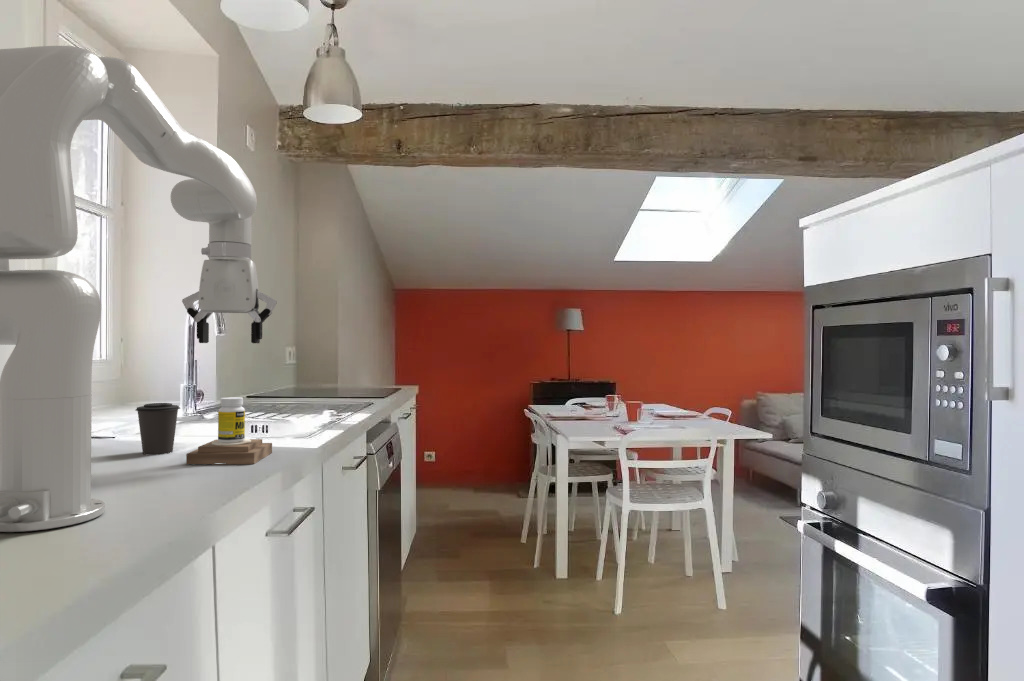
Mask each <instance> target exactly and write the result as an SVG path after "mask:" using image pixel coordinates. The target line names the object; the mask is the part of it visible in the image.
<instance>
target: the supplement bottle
mask: <svg viewBox="0 0 1024 681" xmlns="http://www.w3.org/2000/svg"><path fill="white" fill-rule="evenodd" d="M243 405H244V398H243V397H242V396H241V397H238V396H235V397H234V396H233V397H232V396H229V397H220V406H221V407H220V408H219V409H218V412H217V413H218V415H217V417H218V418H217V427H218V430H217V440H218V442H220V443H237V442H242V441H244V439H246V438H245V436H246V433H245V432H246V431H245V430H246V427H245V425H246V424H245V423H246V421H245V420H246V409H245V407H243Z"/></svg>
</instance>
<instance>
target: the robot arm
mask: <svg viewBox="0 0 1024 681" xmlns="http://www.w3.org/2000/svg"><path fill="white" fill-rule="evenodd" d="M98 120H99V121H101V122H103V123H105V124H106V126H108V127H109V129H110V130H112V132H113V133H114V134H115V135H116V136H117V137H118V139H120V141H121V142H123V144H124V145H125V146H126V147H127V148H128V149H129V150H130V151H131V153H133V155H134V156H135V157H136V158H137V160H139V161H140V162H141V163H143V164H145V165H146V166H149V167H151V168H153V169H156V170H157V169H158V170H160V171H163V172H167V173H170V174H174V175H178V176H184V177H187V178H188V179H184V180H181V181H179V182H177V183H176V184H175V185H174V186H173V188H172V189H171V191H170V203H171V206H172V208H173V209H174V211H175V212H176V213H177V214H178V215H179V216H180V218H181V217H182V218H183V219H186V220H187V221H191V222H199V223H208V226H209V227H208V244H207V247H202V248H201V251H200V252H201V255H203V256H207V258H208V259H204V260H203V263H202V268H201V273H200V280H199V287H198V289H199V290H198V291H196V292H195V293H192V294H190V295H188V296H186V297H183V298H182V300H181V303H182V304H183V306H184V308H185V310H186V312H187V314H188V315H189V316H190V317H191V318H192V319H193V321H194V322H196V339H198V343H199V344H208V343H209V341H210V338H209V336H210V335H209V334H210V324H209V321H208V322H207V320H208V319H209V318H210V317H211V316H212V314H213V313H214V314H215V313H216V314H217V313H219V314H228V313H229V314H248V315H249V316H250V317H251V318H252V319H253V321H252V323H251V325H250V327H251V328H250V329H251V331H250V332H251V333H250V336H251V337H250V342H251V343H252V344H260V343H261V341H260V340H262V339H263V324H264V323H265V320H267V319H268V318H269V316H271V315H272V314H273V311H274V309H275V307H276V306H277V304H278V301H277V299H274V298H273V297H270V296H268V295H266V294H264V293H263V292H262V291H259V290H260V289H259V279H258V273H257V267H256V263H255V261H252V220H253V219H252V218H253V217H252V216H253V215H254V213H256V210H257V206H258V200H257V193H256V191H255V187H254V186H253V184H252V181H251V180H250V179H249V177H248V175H247V174H246V173H245V172H244V170H243V169H242V167H241V166H240V164H239V163H238V162H237V161H236V160H235V159H234V158H233V157H232V156H231V155H230V154H228V153H226V151H224V150H222V149H221V148H219V147H217V146H216V145H213V144H212V143H210V142H208V141H206V140H205V139H203V138H201V137H199V136H198V135H196V134H194V133H191V132H189V131H187V130H186V129H185V128H184V127H182V126H181V124H180V123H179V122H178V120H177V119H176V118H175V116H174V115H173V114H172V112H171V111H170V110H169V109H168V107H167V106H166V105H165V103H164V102H163V101H162V99H161V98H160V96H158V94H157V93H156V92H155V90H154V89H153V87H152V86H151V85H150V84H149V83H148V82H147V80H146V79H145V77H144V76H143V75H142V74H141V73H140V71H139V70H138V69H137V68H136V67H135V66H134V65H132V64H131V63H130V62H128V61H127V60H124V59H121V58H118V57H117V58H116V57H111V56H100V57H99V56H97V55H96V54H95V53H94V52H92V51H90V50H88V49H86V48H82V47H77V46H72V45H42V46H27V47H15V48H0V346H2V345H3V346H4V345H5V346H7V345H8V346H12V345H14V347H13V350H12V352H11V353H10V354H9V357H8V358H7V360H6V362H5V364H4V365H3V369H2V371H1V375H0V532H1V533H2V532H3V533H15V532H16V533H19V532H21V533H22V532H33V531H35V532H36V531H43V530H44V531H45V530H49V529H50V530H51V529H56V528H62V527H67V526H73V525H77V524H81V523H84V522H88V521H91V520H93V519H95V518H98V517H100V516H101V515H103V514H104V513H105V511H106V504H105V502H104V501H103V500H100V499H96V498H92V373H93V358H94V350H95V343H96V339H97V335H98V330H99V326H100V322H101V316H102V303H101V298H100V295H99V291H97V289H96V288H95V286H94V285H93V284H92V283H91V282H90V281H89V280H87V279H86V278H85V277H83V276H81V275H79V274H77V273H73V272H70V271H65V270H54V269H15V270H11V269H10V260H38V259H39V260H40V259H41V260H42V259H51V258H58V257H61V256H64V255H67V254H68V253H70V252H72V250H73V249H74V247H75V246H76V244H77V241H78V233H79V232H78V229H79V228H78V216H77V209H76V208H77V207H76V199H75V197H76V196H75V190H74V188H75V187H74V181H73V171H72V159H71V149H72V148H71V147H72V141H73V138H74V135H75V132H76V131H77V128H78V127H79V126H80V125H81V123H82V122H83V121H98ZM189 178H191V179H189ZM197 301H198V302H197ZM260 301H262V302H264V303H265V304H266V306H265V308H264V309H263V310H262V311H261V312H260V311H259V308H260ZM196 302H197V303H198V308H199V309H200V310H199V311H198V310H197V309H196V308H195V305H194V304H195V303H196Z"/></svg>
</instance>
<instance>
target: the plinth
mask: <svg viewBox="0 0 1024 681" xmlns="http://www.w3.org/2000/svg"><path fill="white" fill-rule="evenodd" d="M271 454H273V443H272V442H263V438H260V439H259V438H256V439H255V438H251V439H249V438H245V439H244V441H242V442H237V443H220V442H218V439H214V440H212V441H209V442H207V443H204V444H202V445H200V446H198V448H197V449H195V450H192V451H190V452H188V453H186V455H185V456H186V459H185V462H186V464H212V465H215V464H214V463H226V464H225V465H255V464H256V463H258V462H259V461H261V460H263V459H265V458H266V457H267V456H269V455H271Z"/></svg>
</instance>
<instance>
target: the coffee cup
mask: <svg viewBox="0 0 1024 681" xmlns="http://www.w3.org/2000/svg"><path fill="white" fill-rule="evenodd" d="M180 409H181V407H180V405H177V404H173V403H170V402H153V403H145V404H143V405H141V406H137V407H136V408H135V411H136V412H137V416H138V417H137V418H138V424H139V432H140V439H141V442H140V443H141V448H142V454H143V453H145V454H144V455H146V454H158V455H165V454H164V453H167V454H171V453H173V451H174V446H175V435H176V427H177V421H178V411H179V410H180ZM170 452H171V453H170Z"/></svg>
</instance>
